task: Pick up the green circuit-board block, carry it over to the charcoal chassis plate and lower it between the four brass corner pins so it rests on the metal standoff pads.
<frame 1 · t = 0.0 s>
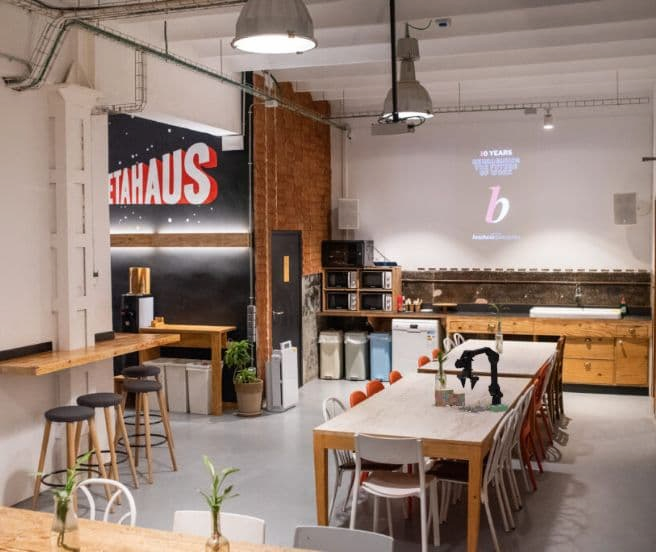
hand: (467, 388, 583), 15 cm above the table, tool pointing down, fingers open, 9 cm apart
board: (498, 411, 576), on the table
chassis: (475, 409, 580), on the table
stack of blocks: (450, 405, 598), on the table
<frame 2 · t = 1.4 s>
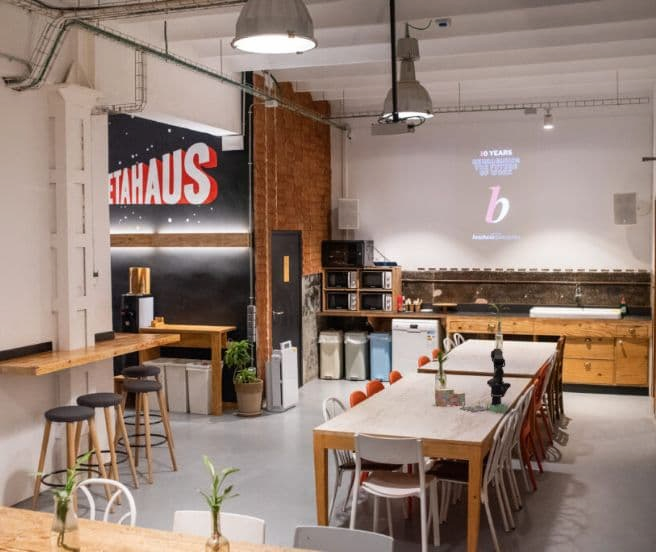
hand: (498, 395, 576), 11 cm above the table, tool pointing down, fingers open, 9 cm apart
nothing on the table moved.
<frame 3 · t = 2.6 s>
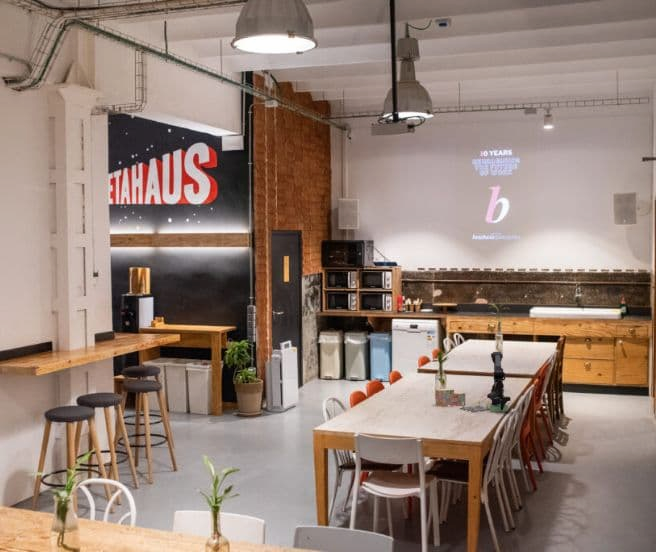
hand: (498, 409, 576), 1 cm above the table, tool pointing down, fingers closed on board, 6 cm apart
board: (498, 411, 576), on the table, touching gripper
everything else where it was.
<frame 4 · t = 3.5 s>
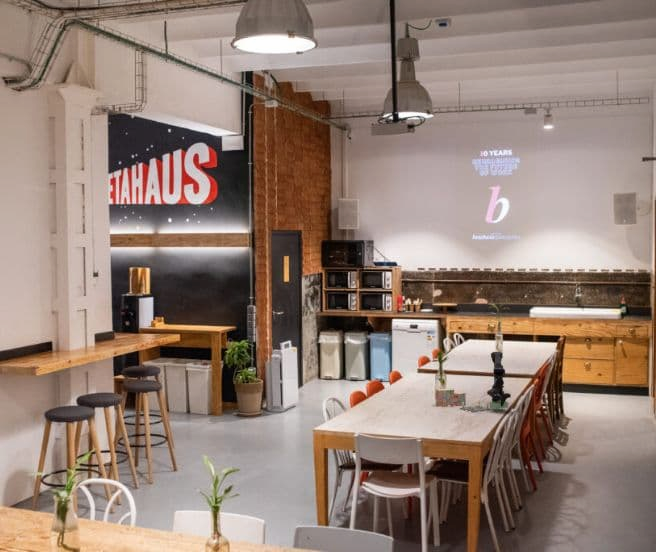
hand: (498, 405, 576), 3 cm above the table, tool pointing down, fingers closed on board, 6 cm apart
board: (498, 407, 576), point 2 cm above the table, touching gripper
everything else where it was.
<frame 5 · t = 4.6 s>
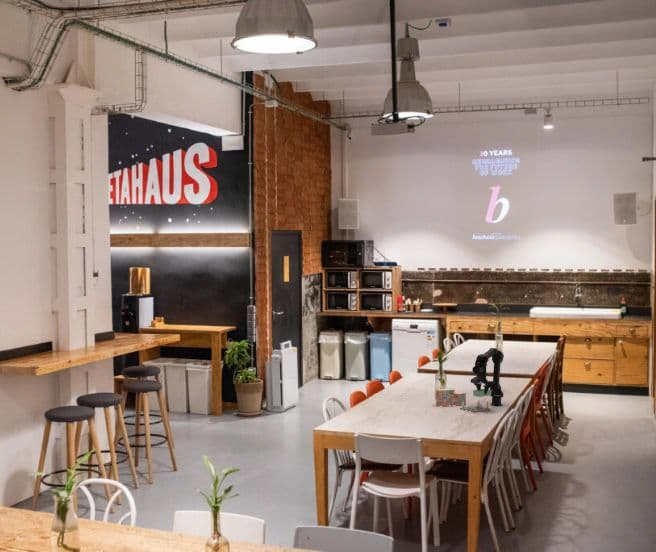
hand: (482, 393, 579), 12 cm above the table, tool pointing down, fingers closed on board, 6 cm apart
board: (482, 395, 579), point 11 cm above the table, touching gripper
everything else where it was.
when the fingers open (6 cm above the table, at t = 6.4 s): board drops 1 cm, resting on chassis.
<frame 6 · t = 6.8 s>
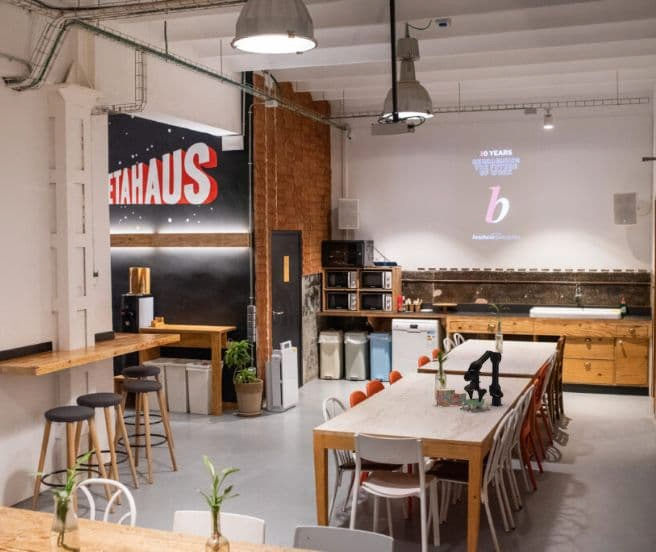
hand: (475, 401, 580), 6 cm above the table, tool pointing down, fingers open, 9 cm apart
board: (475, 404, 580), point 3 cm above the table, touching chassis
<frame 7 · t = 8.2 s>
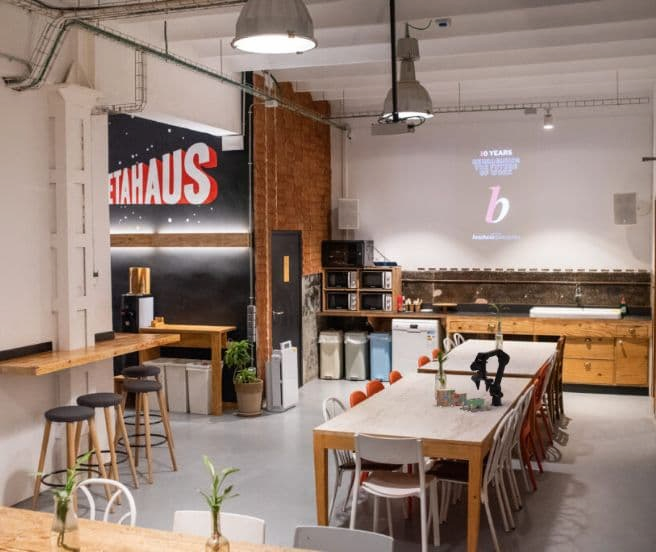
hand: (482, 390, 588), 12 cm above the table, tool pointing down, fingers open, 9 cm apart
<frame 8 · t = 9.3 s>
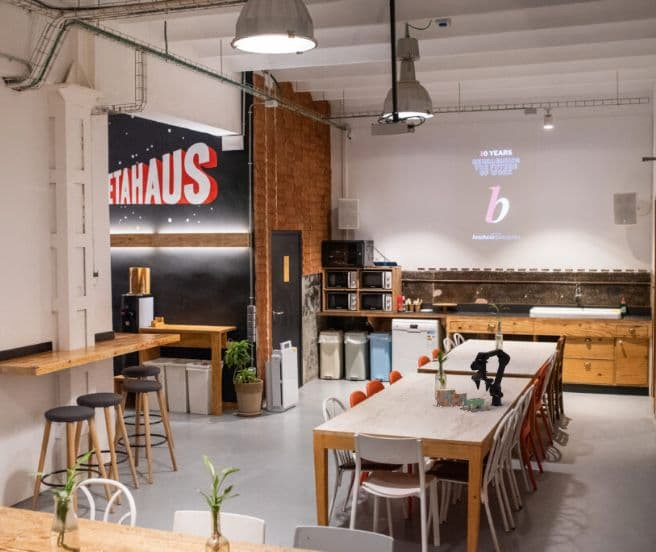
hand: (482, 390, 588), 13 cm above the table, tool pointing down, fingers open, 9 cm apart
at the end: board 0.0 cm off-centre on the chassis, point 3.5 cm above the chassis's base; board tilted 0°; the gripper is holding nothing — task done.
